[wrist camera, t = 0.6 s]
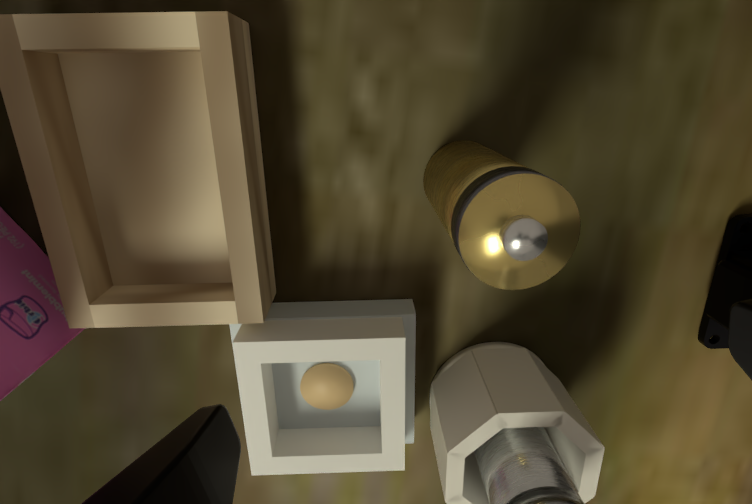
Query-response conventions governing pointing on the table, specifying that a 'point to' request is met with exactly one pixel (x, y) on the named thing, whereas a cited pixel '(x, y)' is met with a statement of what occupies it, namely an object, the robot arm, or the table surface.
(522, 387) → the white octagonal prism
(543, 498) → the cylinder
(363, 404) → the cradle
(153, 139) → the trough
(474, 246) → the brass cell
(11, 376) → the gum box
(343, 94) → the table surface
